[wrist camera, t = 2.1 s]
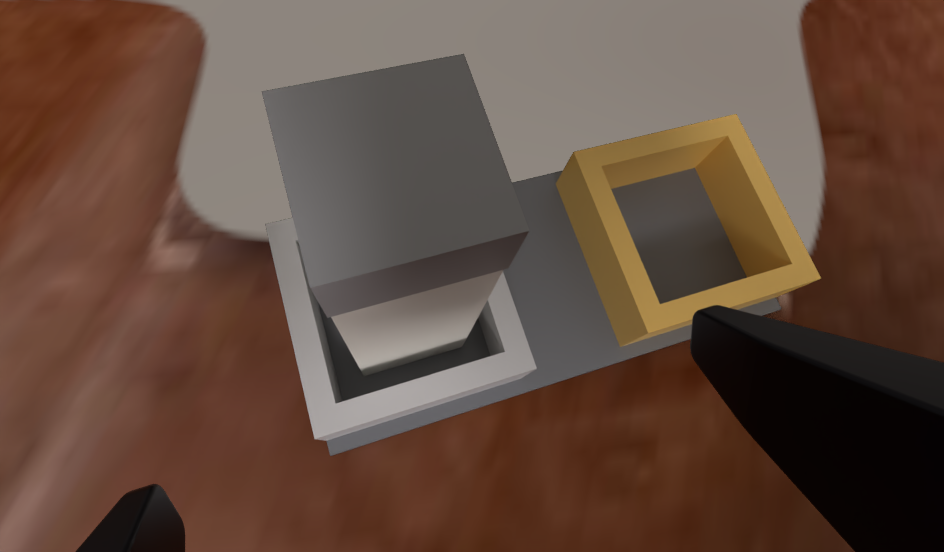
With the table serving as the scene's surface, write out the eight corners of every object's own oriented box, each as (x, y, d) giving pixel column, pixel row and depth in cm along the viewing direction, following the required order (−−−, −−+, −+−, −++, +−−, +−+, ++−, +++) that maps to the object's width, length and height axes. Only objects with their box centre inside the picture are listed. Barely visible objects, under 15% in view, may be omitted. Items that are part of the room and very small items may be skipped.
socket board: (691, 145, 24) (731, 103, 21) (771, 312, 22) (827, 291, 19) (282, 244, 21) (261, 210, 18) (332, 455, 19) (318, 456, 16)
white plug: (434, 255, 21) (463, 54, 10) (463, 347, 20) (529, 230, 9) (337, 280, 20) (261, 91, 9) (362, 377, 19) (309, 288, 8)
